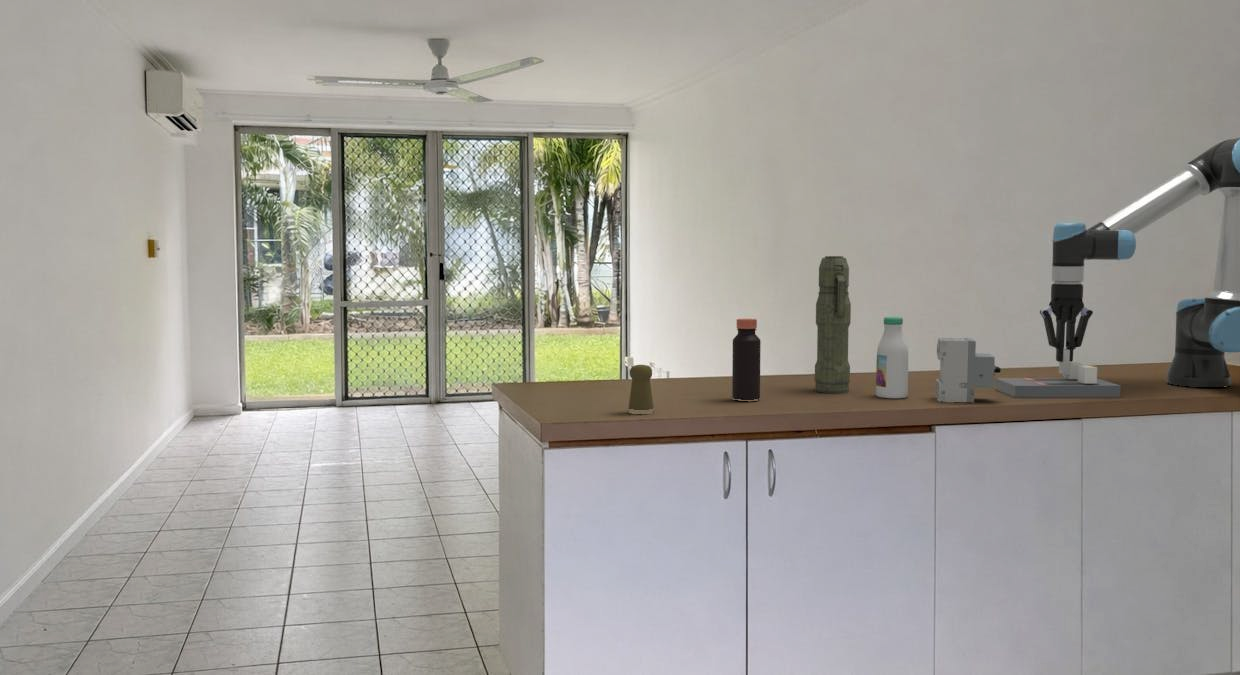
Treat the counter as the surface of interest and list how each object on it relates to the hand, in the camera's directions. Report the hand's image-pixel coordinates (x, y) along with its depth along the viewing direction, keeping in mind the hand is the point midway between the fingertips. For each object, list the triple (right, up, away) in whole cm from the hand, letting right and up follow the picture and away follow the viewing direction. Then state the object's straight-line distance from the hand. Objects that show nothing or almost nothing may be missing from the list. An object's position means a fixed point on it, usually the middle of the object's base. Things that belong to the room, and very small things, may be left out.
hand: (1063, 374), depth 265 cm
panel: (-4, -5, -4) cm, 7 cm away
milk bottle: (-47, -6, -8) cm, 48 cm away
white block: (+2, -2, -8) cm, 8 cm away
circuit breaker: (-30, -6, -14) cm, 33 cm away
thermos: (-59, -5, +2) cm, 60 cm away
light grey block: (+2, -1, 0) cm, 2 cm away
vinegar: (-84, -6, -12) cm, 85 cm away
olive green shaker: (-110, -8, -30) cm, 114 cm away
